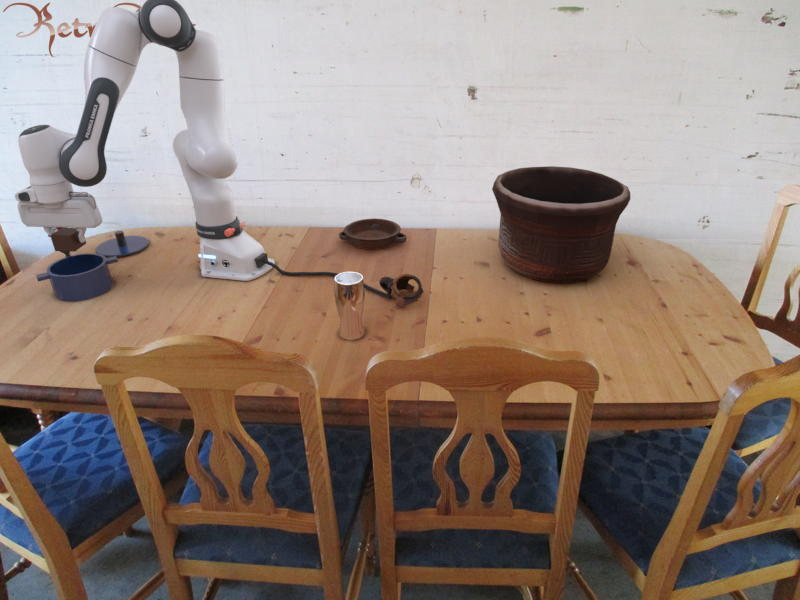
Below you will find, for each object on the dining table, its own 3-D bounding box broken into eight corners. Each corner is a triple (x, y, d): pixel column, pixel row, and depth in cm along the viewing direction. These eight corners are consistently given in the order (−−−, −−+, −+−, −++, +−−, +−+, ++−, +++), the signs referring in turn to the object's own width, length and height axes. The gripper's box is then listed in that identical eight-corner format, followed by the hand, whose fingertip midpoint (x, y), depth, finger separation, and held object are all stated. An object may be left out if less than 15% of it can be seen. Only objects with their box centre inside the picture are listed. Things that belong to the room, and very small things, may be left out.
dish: (344, 230, 194) (343, 217, 192) (409, 232, 192) (409, 218, 190) (334, 252, 179) (332, 237, 177) (404, 254, 177) (404, 239, 175)
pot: (128, 288, 160) (122, 264, 156) (48, 309, 150) (39, 284, 146) (116, 269, 170) (110, 246, 167) (40, 288, 160) (32, 264, 157)
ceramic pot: (472, 281, 161) (477, 195, 148) (502, 234, 190) (508, 159, 178) (610, 304, 148) (628, 213, 136) (620, 250, 178) (635, 171, 166)
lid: (155, 250, 183) (151, 233, 180) (102, 263, 175) (97, 246, 172) (142, 235, 194) (138, 219, 191) (92, 246, 186) (87, 230, 183)
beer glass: (337, 326, 141) (333, 271, 134) (366, 325, 141) (363, 270, 134) (337, 342, 135) (332, 285, 127) (366, 340, 135) (364, 284, 128)
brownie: (86, 243, 156) (81, 227, 154) (75, 251, 151) (70, 235, 149) (67, 242, 157) (62, 227, 154) (55, 251, 152) (49, 235, 150)
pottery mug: (423, 292, 157) (428, 275, 150) (414, 320, 152) (419, 305, 145) (382, 278, 157) (385, 261, 150) (371, 306, 152) (373, 290, 145)
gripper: (99, 188, 148) (112, 237, 155) (24, 187, 150) (40, 236, 157) (85, 196, 143) (100, 247, 150) (7, 194, 144) (25, 245, 151)
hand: (69, 241), depth 153 cm, fingers closed on brownie, 5 cm apart
